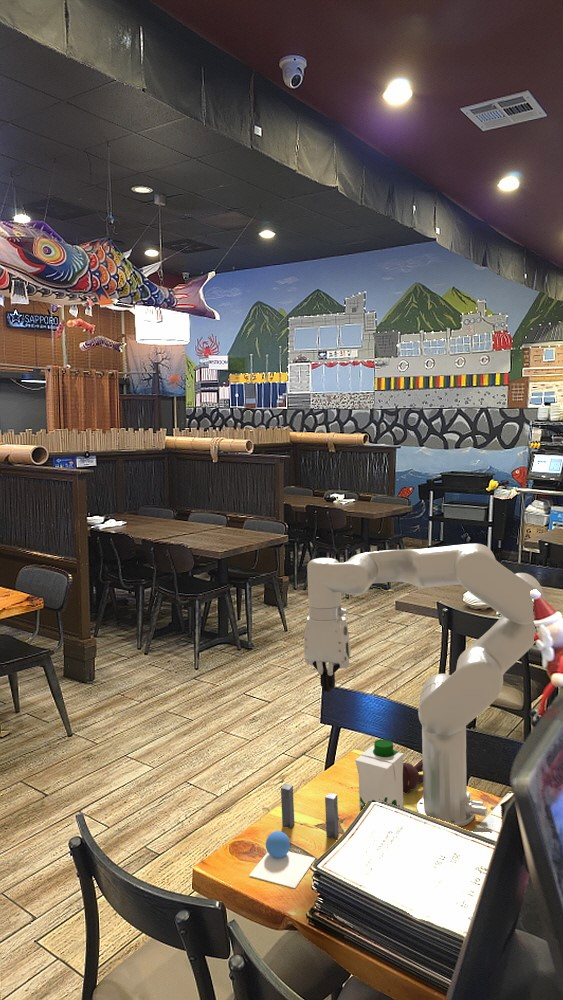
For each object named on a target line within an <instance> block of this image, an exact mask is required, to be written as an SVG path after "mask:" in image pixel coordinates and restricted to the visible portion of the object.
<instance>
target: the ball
mask: <svg viewBox="0 0 563 1000" xmlns="http://www.w3.org/2000/svg"><path fill="white" fill-rule="evenodd" d="M265 848H266V851H267V852H268V853H269V854H270V855H271V856H272V857H274V858H282V857H284V856H285V855H286V854H287V853H288V851H289V852H290V848H291V842H290V838H289V836H288V835H287V834H286V833H285V832H283V831H280V830H275V831H273V832H271V833H270V834H269V835H268V836H267V838H266V841H265ZM267 852H266V853H267Z"/></svg>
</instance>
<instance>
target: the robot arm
mask: <svg viewBox="0 0 563 1000" xmlns="http://www.w3.org/2000/svg"><path fill="white" fill-rule="evenodd" d="M306 566H307V568H306V570H307V594H308V596H307V597H308V616H307V618H306V621H305V626H304V636H303V638H304V639H303V651H304V652H303V653H304V657H305V658H304V662H305V664H308V665H310V666H313V667H314V668H315V669H316V670H317V673H318V674H319V675H320V679H319V680H320V681H319V682H320V686H321V688H322V689H321V691H322V692H323V693H324V692H326V693H331V691H332V690H334V688H335V687H336V672H337V671H338V670H339V669H348V667H349V666H350V665H351V663H350V659H349V658H350V657H351V641H350V640H351V639H350V633H349V627H348V623H347V619H346V617H345V616H346V615H348V609H347V608H345V607H344V606H343V603H342V594H347V595H351V596H358V595H361V594H364V593H366V592H367V591H368V590H369V589H370V587H371V586H372V585H373V584H383V583H390V582H391V583H395V582H396V583H398V582H399V583H405V584H406V583H407V584H410V585H412V586H414V587H417V588H422V589H427V588H437V587H447V586H455V585H456V586H457V585H460V586H462V587H463V588H464V589H465V590H467V592H469V593H470V594H472V595H473V596H474V597H476V598H477V599H478V600H479V601H482V603H484V604H486V605H487V606H488V607H490V608H492V609H493V610H494V611H495V612H497V613H499V615H501V616H500V617H499V619H497V621H495V623H494V624H493V625H492V626H491V627H490V629H488V630H487V631H486V632H485V633H484V634H483V635H482V636H481V637H479V638H478V639H477V640H476V641H474V642H473V643H472V644H471V645H470V646H469V647H467V648H466V649H465V650H464V651H462V652H461V653H460V655H459V656H458V659H457V660H456V661H457V663H456V669H455V670H454V672H453V673H452V674H447V673H436V674H433V675H431V676H430V678H428V679H426V681H425V682H424V684H423V686H422V689H421V693H420V697H419V703H418V719H419V722H420V724H421V737H422V738H421V739H422V744H421V745H422V746H421V747H422V753H421V754H422V755H421V756H422V761H423V771H422V775H423V782H422V785H423V786H422V788H423V789H422V795H423V797H422V798H421V799H419V801H418V802H417V804H416V813H417V812H419V813H421V814H424V815H427V816H430V817H433V818H436V819H440V820H442V821H446V822H449V823H451V824H454V825H457V826H461V827H464V826H466V825H468V824H470V823H471V822H472V821H473V820H474V819H475V818H474V817H475V815H478V816H481V817H487V815H488V807H486V806H484V802H483V801H479V800H474V799H473V798H471V791H467V790H468V789H467V726H468V725H469V724H470V723H471V722H472V721H474V719H476V718H477V717H478V716H479V715H481V713H483V712H484V711H485V710H486V709H487V708H489V706H491V705H492V704H493V703H494V702H495V700H497V699H498V697H499V696H500V693H501V692H502V689H503V686H504V674H505V673H506V672H507V671H508V670H509V669H510V668H511V667H512V666H514V665H515V664H516V663H517V662H518V660H520V659H521V658H522V657H523V656H524V655H525V654H526V653H527V652H528V651H529V650H531V649H532V647H533V646H534V644H535V643H536V641H534V634H535V633H536V629H535V626H534V622H533V621H534V616H533V601H532V598H531V596H530V591H531V590H533V589H537V590H538V591H539V592H540V593H541V596H542V598H543V599H544V600H545V602H546V597H545V595H544V592H543V587H542V586H541V584H540V583H539V581H538V580H537V579H536V578H535V577H534V576H533V575H531V574H529V573H527V572H517V573H514V572H513V571H512V570H510V569H508V568H507V567H505V566H504V565H503V564H501V563H500V562H499V561H498V560H497V559H496V557H495V555H494V553H493V551H492V550H491V549H490V548H489V547H488V546H487V545H484V544H482V543H475V542H474V543H465V544H464V543H463V544H454V545H447V546H446V545H445V546H438V547H429V548H428V547H427V548H420V549H419V548H418V549H415V548H413V549H409V548H408V549H389V550H379V551H377V550H376V551H369V552H368V551H367V552H363V553H357V554H355V555H353V556H351V557H350V558H349V559H347V561H345V562H339V560H338V559H335V558H331V557H319V558H314V559H311V560H309V561H308V563H307V565H306ZM546 603H547V602H546ZM327 663H328V665H327Z"/></svg>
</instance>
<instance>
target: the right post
mask: <svg viewBox="0 0 563 1000" xmlns="http://www.w3.org/2000/svg"><path fill="white" fill-rule="evenodd" d="M324 801H325V802H324V803H325V827H326V828H325V833H326V838H328V839H333V840H336V839H337V837H338V836H339V834H340V833H339V811H338V810H339V809H338V808H339V807H338V806H339V805H338V802H339V801H338V794H337V793H331V792H327V794H326V795H325V797H324Z"/></svg>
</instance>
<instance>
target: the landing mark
mask: <svg viewBox="0 0 563 1000" xmlns="http://www.w3.org/2000/svg"><path fill="white" fill-rule="evenodd" d="M315 860H316V857H313V856H307V855H304V854H302V853H301V854H300V853H297V852H296V853H295V852H291V851H290V850H289V851H288V853H287V854H286V855H285V856H284V857H282V858H274V857H272V856H271V855H270V854H269V853H268V852H266V853H265V855H264V856H263V857H262V858H261V860H260V861H259V862H258V863H257V864H256V866H255V867H254V868H253V869H252V871H251V872H250V874H249V875H248V876H249V877H251V878H254V879H257V880H262V881H265V882H269V883H272V884H276V885H280V886H283V887H287V888H291V889H294V890H295V889H296V888H297V886H298V885H300V882H301V881H302V879H303V878H304V877H305V875H306V874H307V872H308V870H309V869H310V868H311V866H312V865H313V863H314V862H315ZM311 864H312V865H311Z"/></svg>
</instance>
